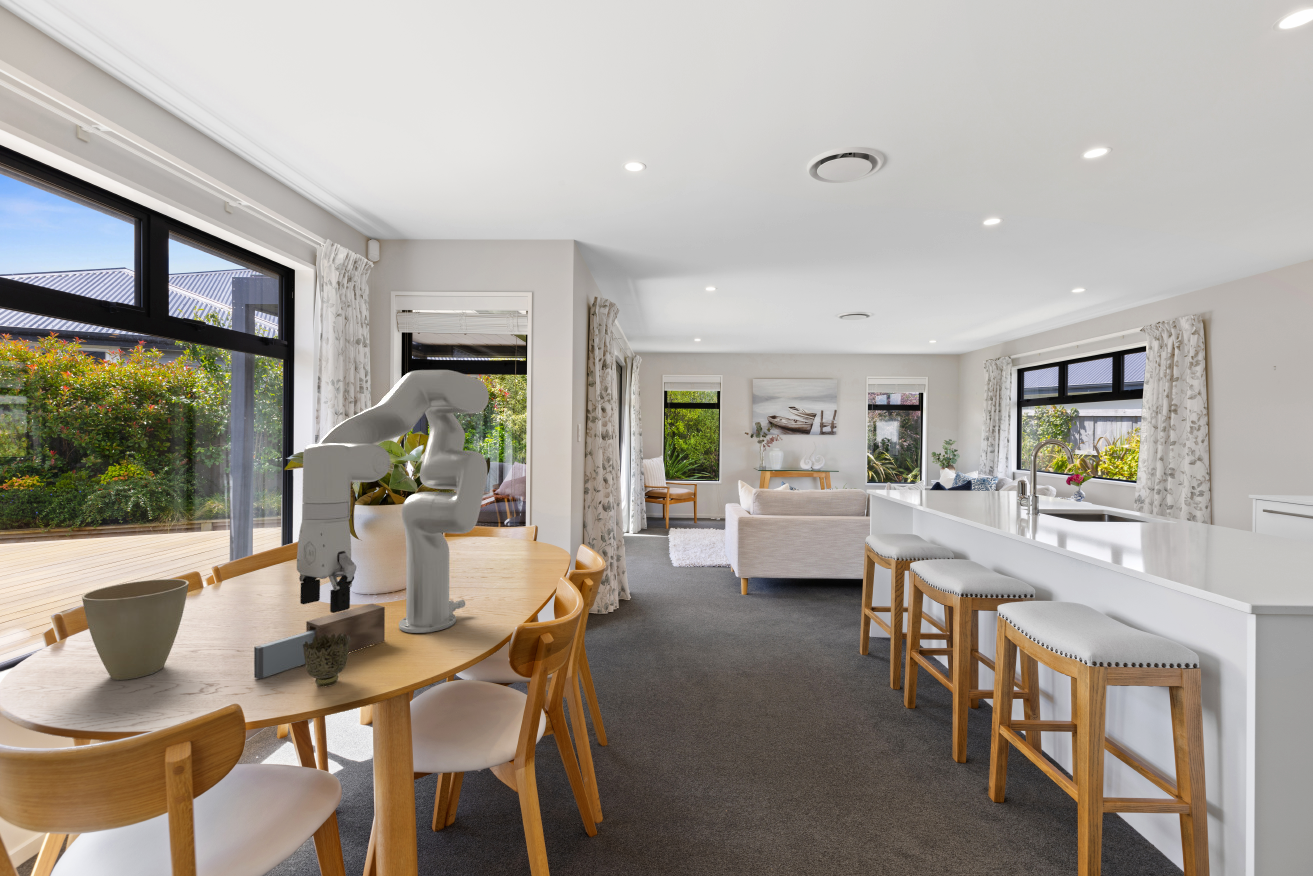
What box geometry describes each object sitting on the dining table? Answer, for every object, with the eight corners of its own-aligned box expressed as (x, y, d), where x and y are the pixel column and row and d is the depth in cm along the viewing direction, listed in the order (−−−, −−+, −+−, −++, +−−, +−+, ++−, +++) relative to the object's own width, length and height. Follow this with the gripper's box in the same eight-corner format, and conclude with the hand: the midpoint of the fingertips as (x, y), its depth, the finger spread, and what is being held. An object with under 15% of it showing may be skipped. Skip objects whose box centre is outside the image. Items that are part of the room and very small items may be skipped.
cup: (328, 695, 98) (328, 649, 98) (292, 690, 100) (292, 645, 100) (359, 676, 105) (359, 634, 105) (325, 673, 107) (325, 631, 107)
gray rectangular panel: (330, 652, 116) (330, 624, 116) (334, 653, 115) (334, 626, 115) (254, 677, 104) (254, 646, 104) (258, 679, 103) (258, 648, 103)
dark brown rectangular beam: (372, 637, 126) (372, 603, 126) (384, 641, 123) (384, 606, 123) (306, 658, 114) (306, 621, 114) (318, 663, 111) (318, 625, 111)
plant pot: (208, 660, 113) (208, 580, 112) (122, 693, 98) (122, 602, 98) (150, 653, 116) (150, 576, 116) (60, 684, 102) (59, 596, 101)
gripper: (279, 510, 103) (277, 604, 103) (332, 517, 94) (330, 620, 94) (321, 507, 110) (319, 595, 110) (374, 513, 101) (372, 609, 101)
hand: (324, 606), depth 102 cm, fingers open, 9 cm apart
